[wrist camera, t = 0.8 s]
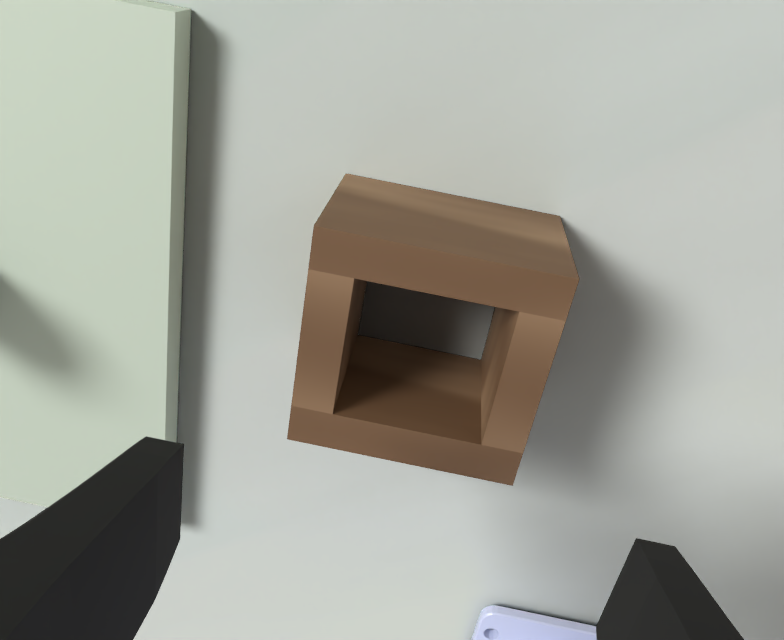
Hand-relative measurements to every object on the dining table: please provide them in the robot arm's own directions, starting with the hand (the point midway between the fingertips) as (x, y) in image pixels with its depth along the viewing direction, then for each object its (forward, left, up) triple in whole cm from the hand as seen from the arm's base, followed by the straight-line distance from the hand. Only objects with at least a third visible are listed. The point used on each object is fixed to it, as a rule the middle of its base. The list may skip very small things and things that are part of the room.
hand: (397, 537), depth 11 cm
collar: (0, 0, -9) cm, 9 cm away
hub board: (-2, +13, -9) cm, 16 cm away
